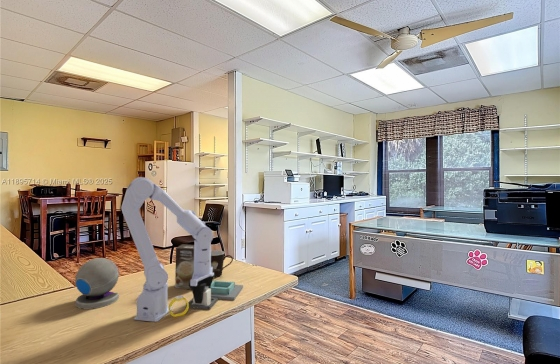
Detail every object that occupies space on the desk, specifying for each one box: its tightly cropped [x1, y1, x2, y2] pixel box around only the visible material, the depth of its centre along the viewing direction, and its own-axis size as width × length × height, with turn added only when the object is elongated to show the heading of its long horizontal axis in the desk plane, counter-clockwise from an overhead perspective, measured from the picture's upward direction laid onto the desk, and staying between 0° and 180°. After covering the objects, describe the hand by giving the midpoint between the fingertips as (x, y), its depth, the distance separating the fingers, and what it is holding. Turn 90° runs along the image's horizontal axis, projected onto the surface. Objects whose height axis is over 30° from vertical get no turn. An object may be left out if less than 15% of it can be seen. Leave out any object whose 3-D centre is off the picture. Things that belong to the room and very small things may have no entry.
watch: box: [168, 295, 190, 318], centre depth 94 cm, size 6×3×6 cm, turn 121°
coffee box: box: [174, 243, 194, 290], centre depth 119 cm, size 9×6×16 cm
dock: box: [210, 280, 244, 301], centre depth 113 cm, size 12×14×3 cm
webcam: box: [74, 257, 120, 310], centre depth 104 cm, size 13×13×15 cm
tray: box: [185, 297, 219, 310], centre depth 103 cm, size 7×9×1 cm
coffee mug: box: [211, 249, 234, 278], centre depth 132 cm, size 12×9×10 cm
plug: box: [192, 286, 212, 305], centre depth 103 cm, size 4×5×6 cm
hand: (202, 299), depth 103 cm, fingers open, 5 cm apart
